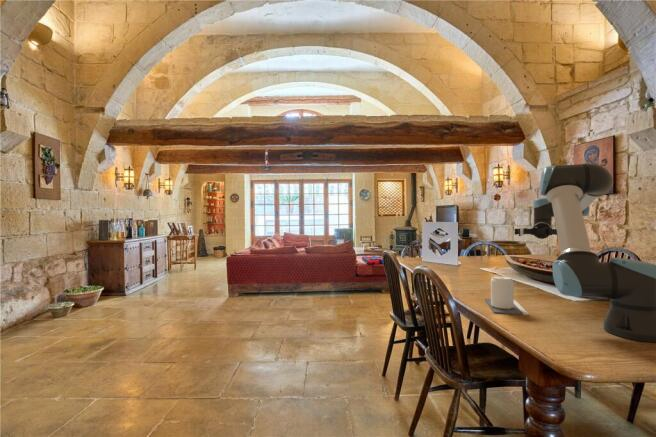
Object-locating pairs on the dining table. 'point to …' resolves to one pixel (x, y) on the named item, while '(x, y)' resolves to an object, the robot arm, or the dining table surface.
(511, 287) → the beverage can
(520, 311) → the mat
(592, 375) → the dining table surface
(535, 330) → the dining table surface
